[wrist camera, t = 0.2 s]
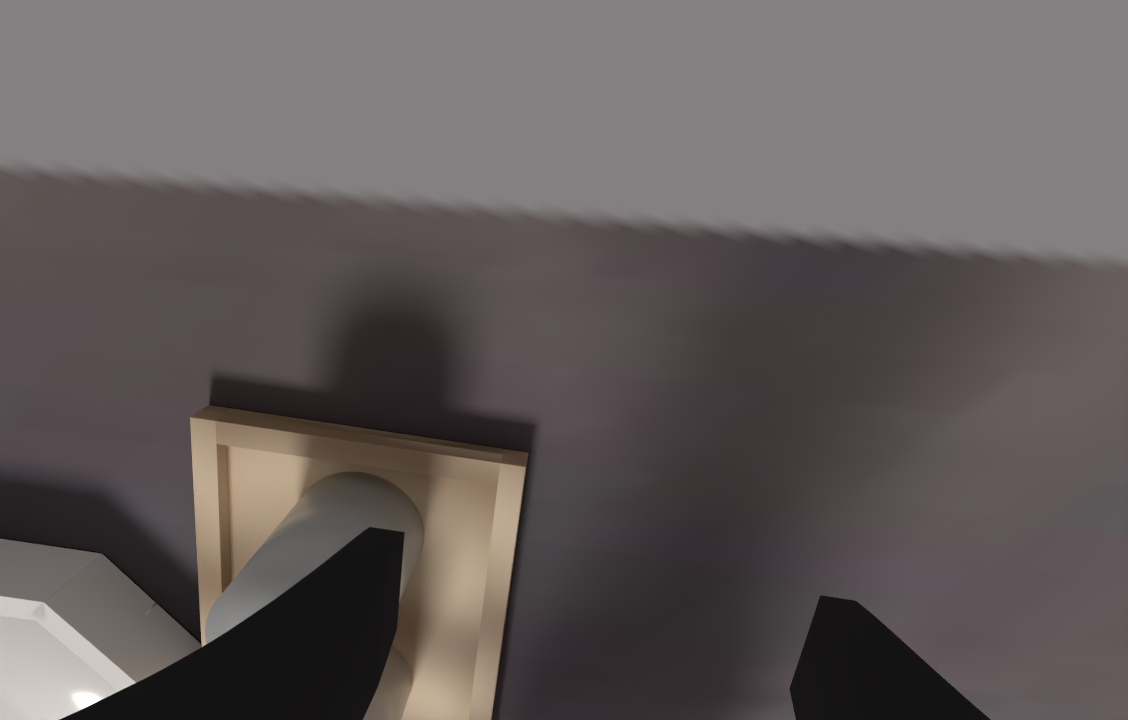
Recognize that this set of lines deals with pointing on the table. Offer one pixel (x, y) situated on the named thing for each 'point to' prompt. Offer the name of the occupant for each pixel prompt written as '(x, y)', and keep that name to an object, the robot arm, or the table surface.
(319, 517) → the stone
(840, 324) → the table surface
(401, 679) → the grey rounded cylinder
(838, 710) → the robot arm
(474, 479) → the oak tray
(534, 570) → the table surface
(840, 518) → the table surface
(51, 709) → the white octagonal dish
